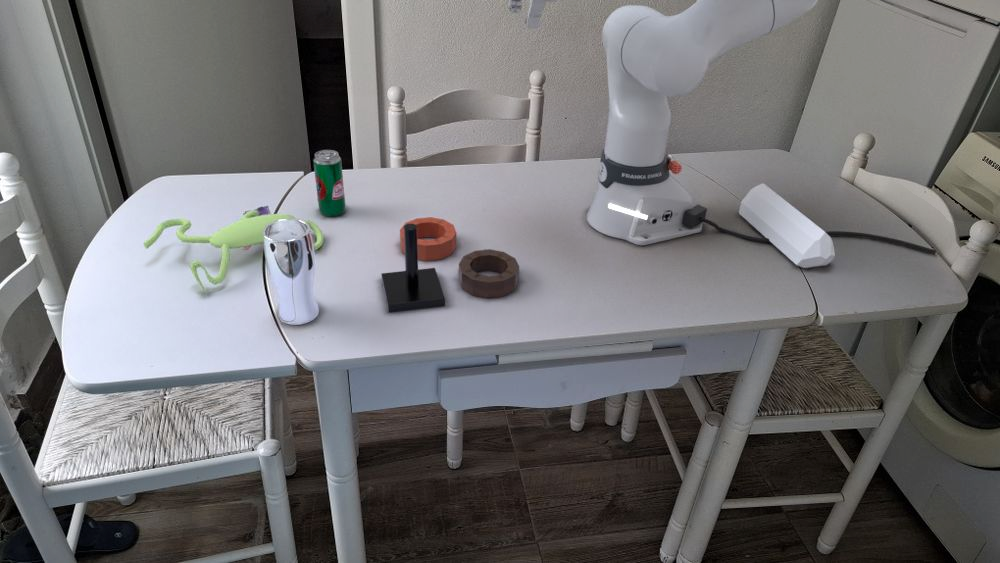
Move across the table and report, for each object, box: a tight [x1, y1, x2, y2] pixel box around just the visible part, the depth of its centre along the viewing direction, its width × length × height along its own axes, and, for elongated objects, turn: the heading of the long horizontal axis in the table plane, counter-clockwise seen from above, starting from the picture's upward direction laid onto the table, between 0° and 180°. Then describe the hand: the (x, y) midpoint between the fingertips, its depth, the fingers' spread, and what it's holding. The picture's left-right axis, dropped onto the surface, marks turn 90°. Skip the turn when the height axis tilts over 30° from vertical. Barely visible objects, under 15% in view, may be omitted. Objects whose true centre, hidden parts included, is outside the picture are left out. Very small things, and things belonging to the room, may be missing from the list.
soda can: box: [312, 149, 347, 218], centre depth 130 cm, size 5×5×12 cm
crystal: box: [738, 182, 836, 269], centre depth 131 cm, size 7×7×24 cm
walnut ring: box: [458, 248, 520, 299], centre depth 115 cm, size 10×10×3 cm
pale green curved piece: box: [143, 205, 324, 295], centre depth 119 cm, size 18×27×6 cm
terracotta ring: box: [399, 216, 457, 262], centre depth 123 cm, size 10×10×3 cm
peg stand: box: [381, 224, 446, 313], centre depth 109 cm, size 9×9×12 cm
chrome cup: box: [262, 218, 320, 326], centre depth 102 cm, size 7×7×15 cm
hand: (522, 19), depth 108 cm, fingers open, 8 cm apart
